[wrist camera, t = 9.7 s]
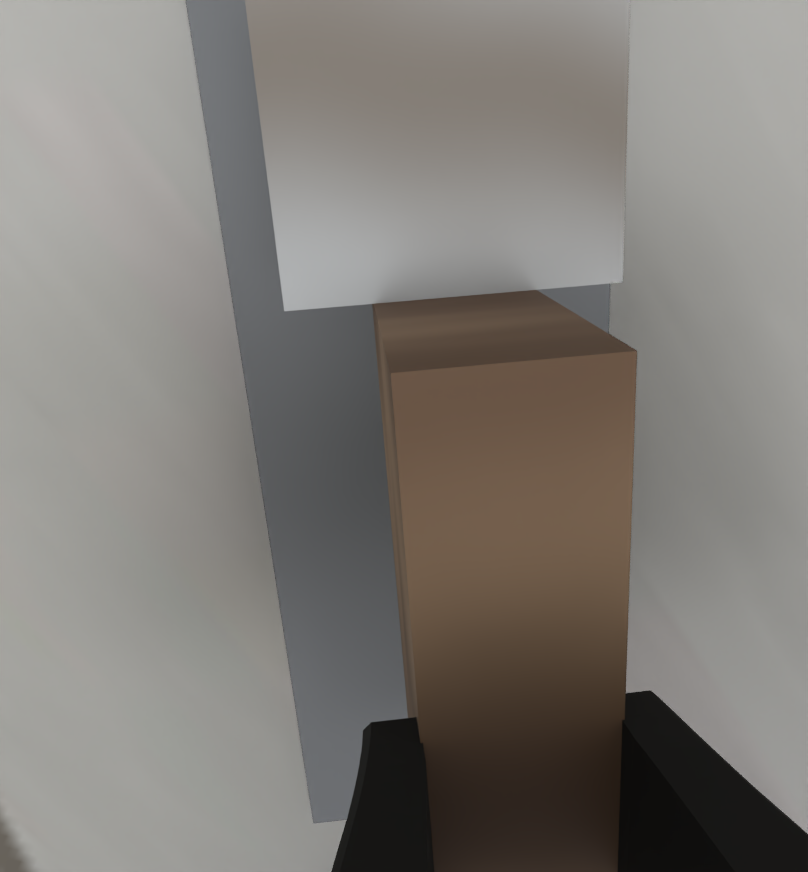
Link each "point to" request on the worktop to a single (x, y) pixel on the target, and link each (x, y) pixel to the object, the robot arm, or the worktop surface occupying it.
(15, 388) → the worktop surface
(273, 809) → the worktop surface
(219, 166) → the mat
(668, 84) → the worktop surface
